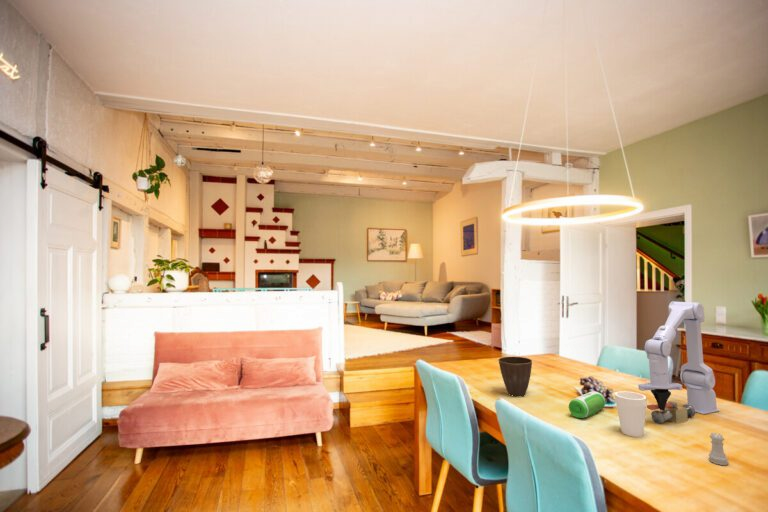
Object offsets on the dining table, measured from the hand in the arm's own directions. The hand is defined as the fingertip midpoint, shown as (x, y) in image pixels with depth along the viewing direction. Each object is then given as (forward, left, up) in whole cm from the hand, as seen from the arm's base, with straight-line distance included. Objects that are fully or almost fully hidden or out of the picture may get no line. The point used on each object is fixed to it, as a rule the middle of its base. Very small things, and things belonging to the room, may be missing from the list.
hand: (661, 409), depth 141 cm
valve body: (-8, -1, -5) cm, 9 cm away
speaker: (+16, -19, -6) cm, 25 cm away
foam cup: (+17, +2, -5) cm, 18 cm away
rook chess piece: (+13, +26, -5) cm, 29 cm away
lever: (-3, -2, 0) cm, 3 cm away
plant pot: (+26, -49, -5) cm, 56 cm away
